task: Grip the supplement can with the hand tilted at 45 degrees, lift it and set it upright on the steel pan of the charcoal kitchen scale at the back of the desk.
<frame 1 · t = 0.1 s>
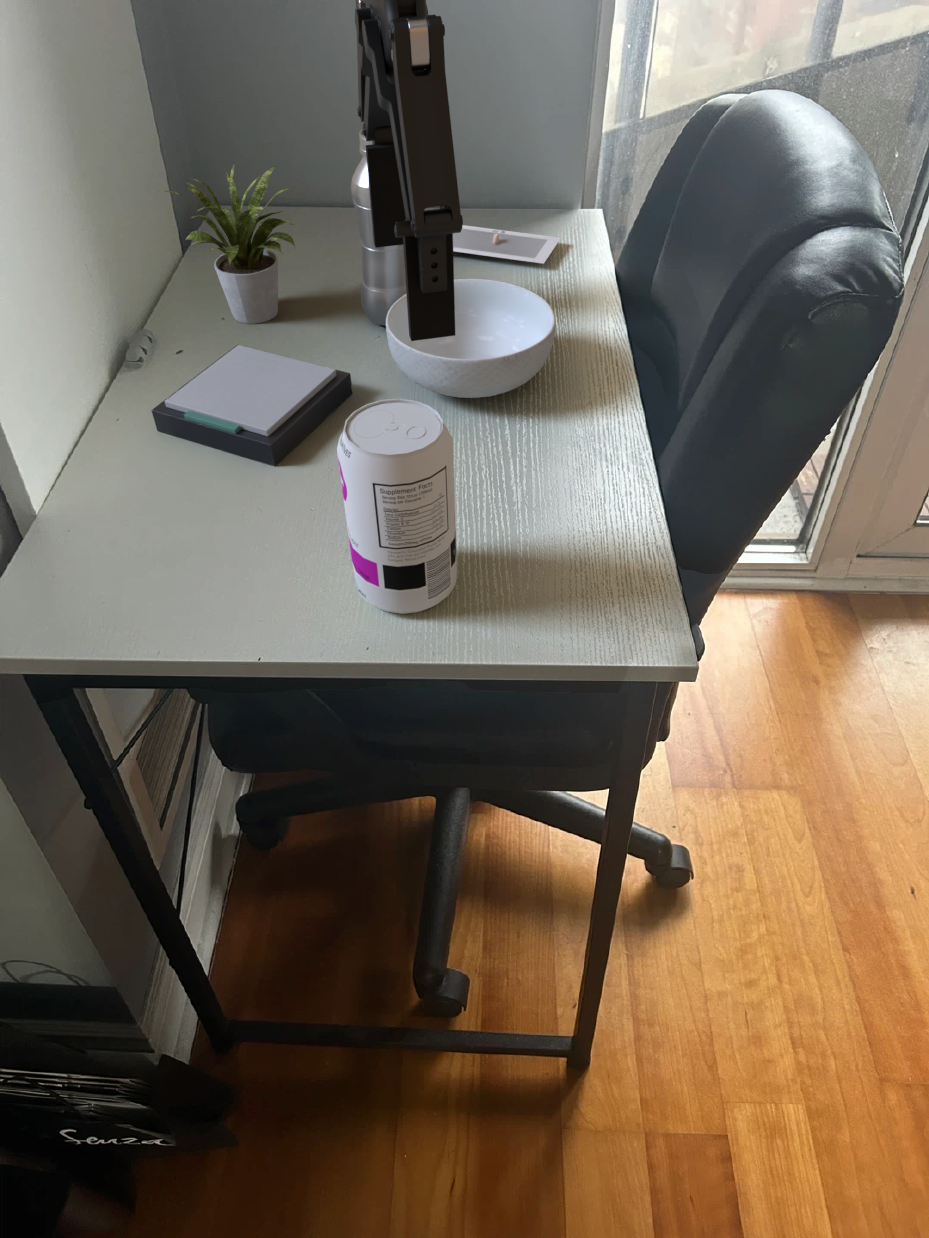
hand: (411, 286, 62), 24 cm above the table, tool pointing down, fingers open, 13 cm apart
scale: (257, 412, 95), on the table
silver metal bottle: (391, 320, 108), on the table
house plant: (246, 318, 109), on the table
cereal bowl: (471, 380, 99), on the table
supplement can: (406, 585, 76), on the table
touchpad: (495, 253, 121), on the table
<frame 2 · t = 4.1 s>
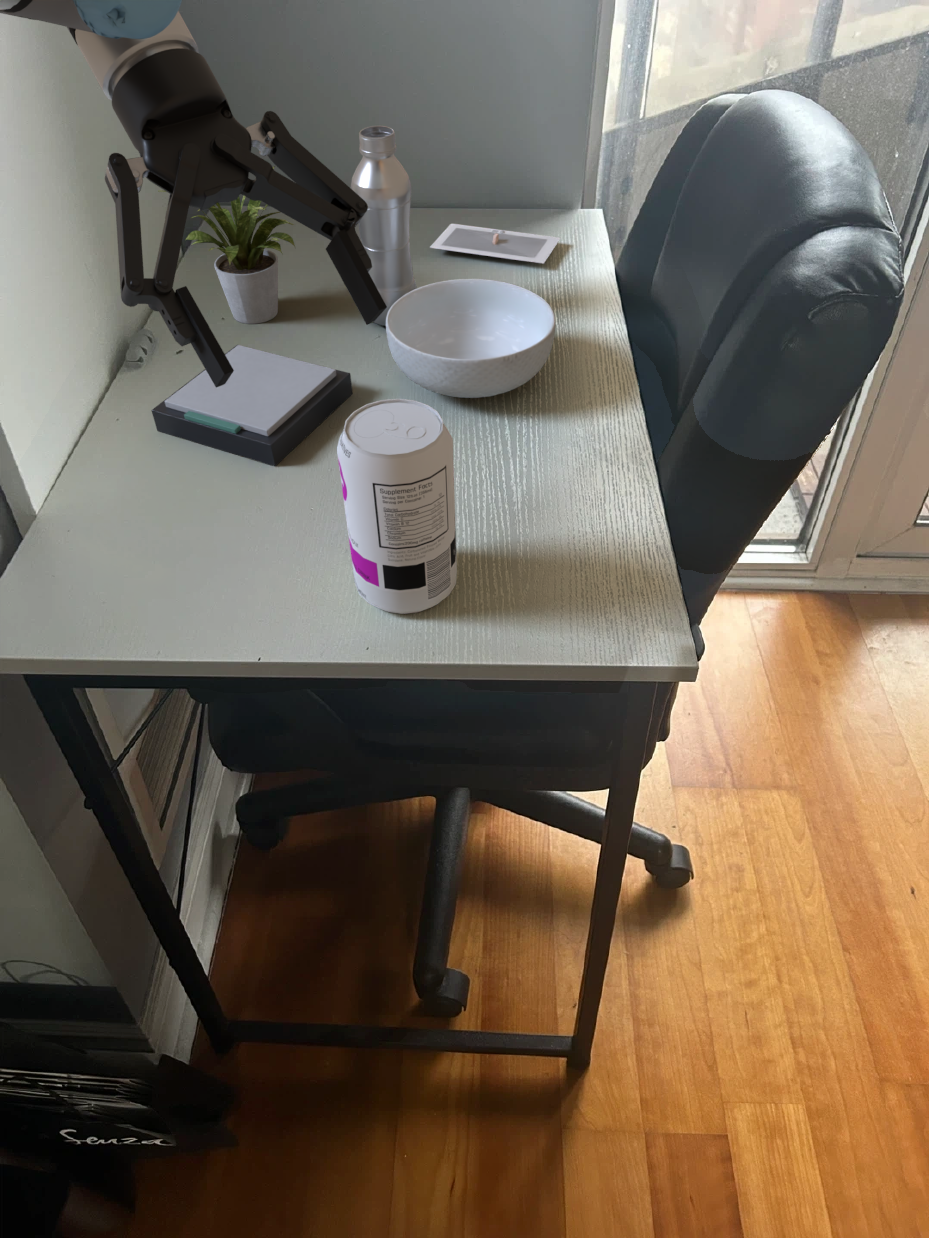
hand: (304, 347, 70), 17 cm above the table, tool tilted 45°, fingers open, 13 cm apart
nothing on the table moved.
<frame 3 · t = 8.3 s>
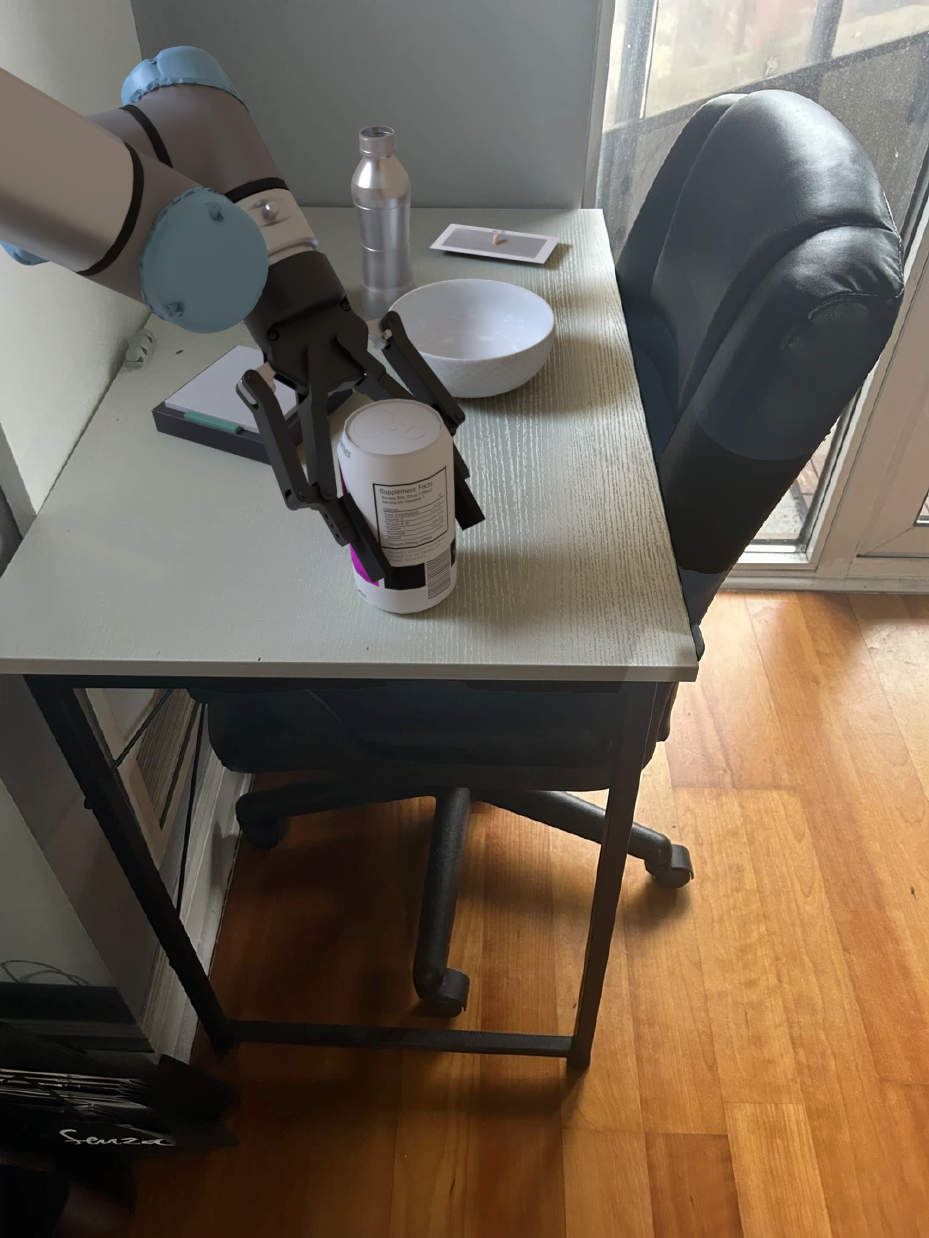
hand: (429, 550, 70), 6 cm above the table, tool tilted 45°, fingers closed on supplement can, 8 cm apart
supplement can: (406, 585, 76), on the table, touching gripper
everything else where it was.
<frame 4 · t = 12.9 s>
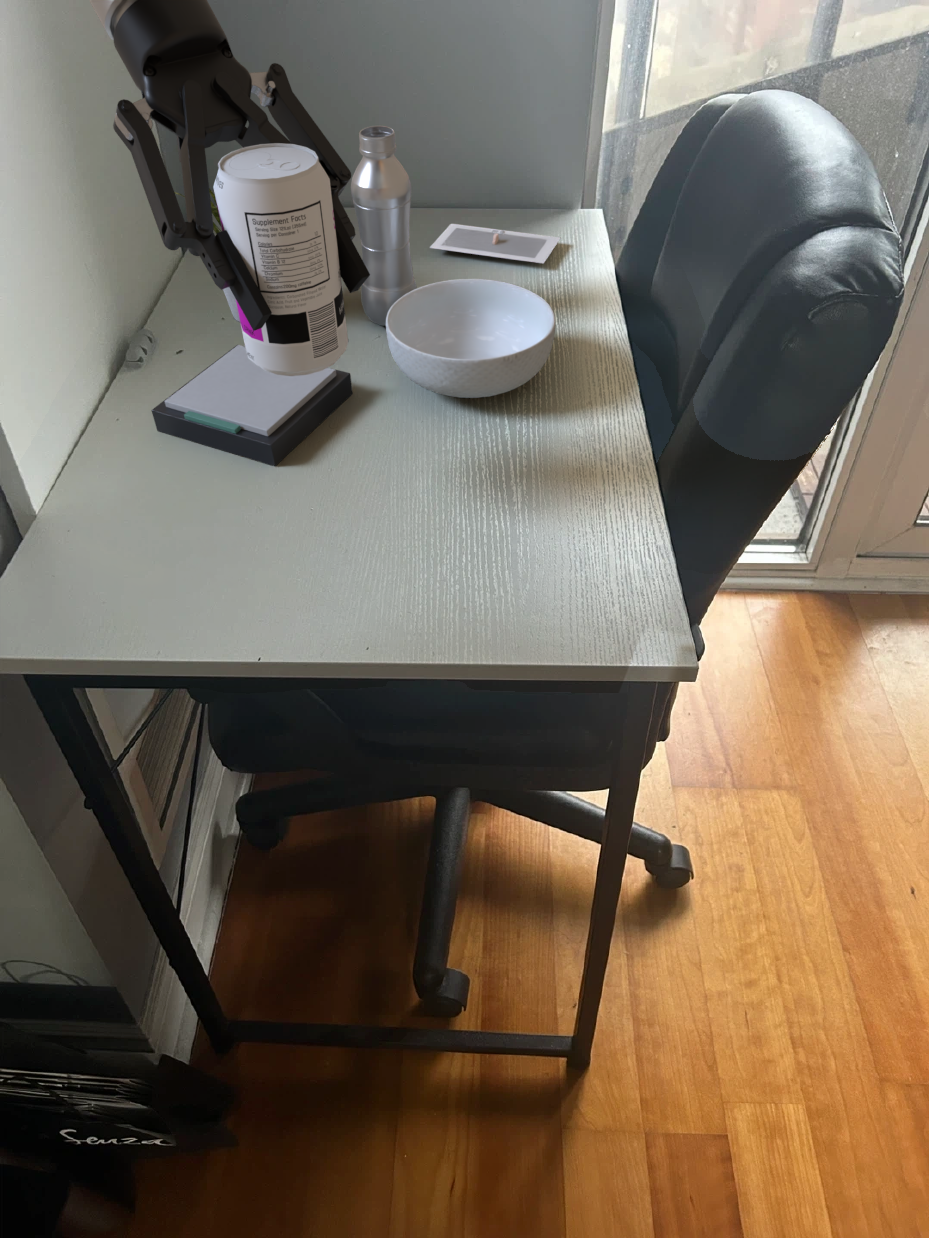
hand: (312, 302, 71), 19 cm above the table, tool tilted 45°, fingers closed on supplement can, 8 cm apart
supplement can: (298, 356, 77), point 13 cm above the table, touching gripper
everything else where it was.
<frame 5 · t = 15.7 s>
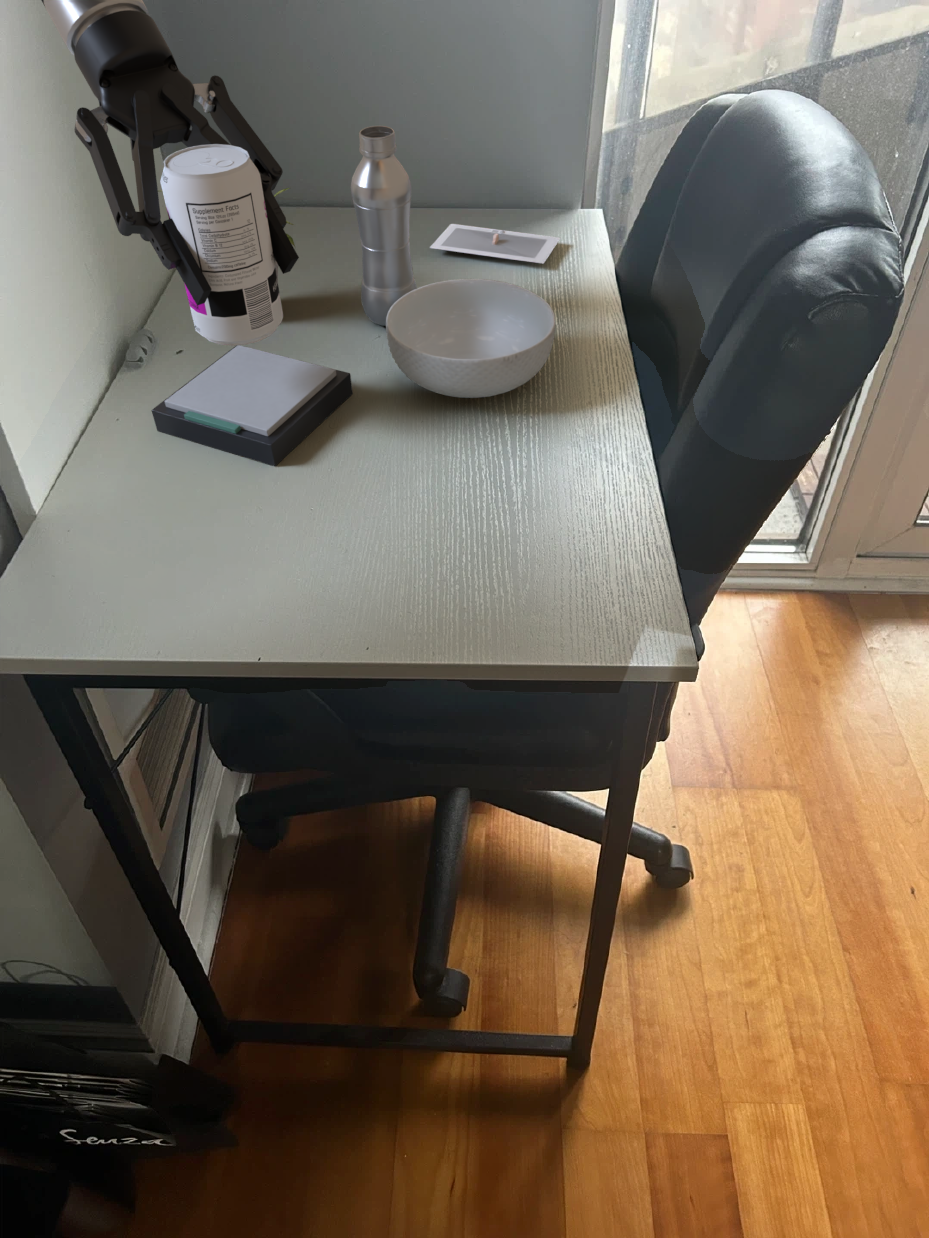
hand: (248, 281, 82), 15 cm above the table, tool tilted 45°, fingers closed on supplement can, 8 cm apart
supplement can: (240, 329, 88), point 9 cm above the table, touching gripper
everything else where it was.
when the fingers open (9 cm above the table, at t = 17.9 s): supplement can stays where it is, resting on scale.
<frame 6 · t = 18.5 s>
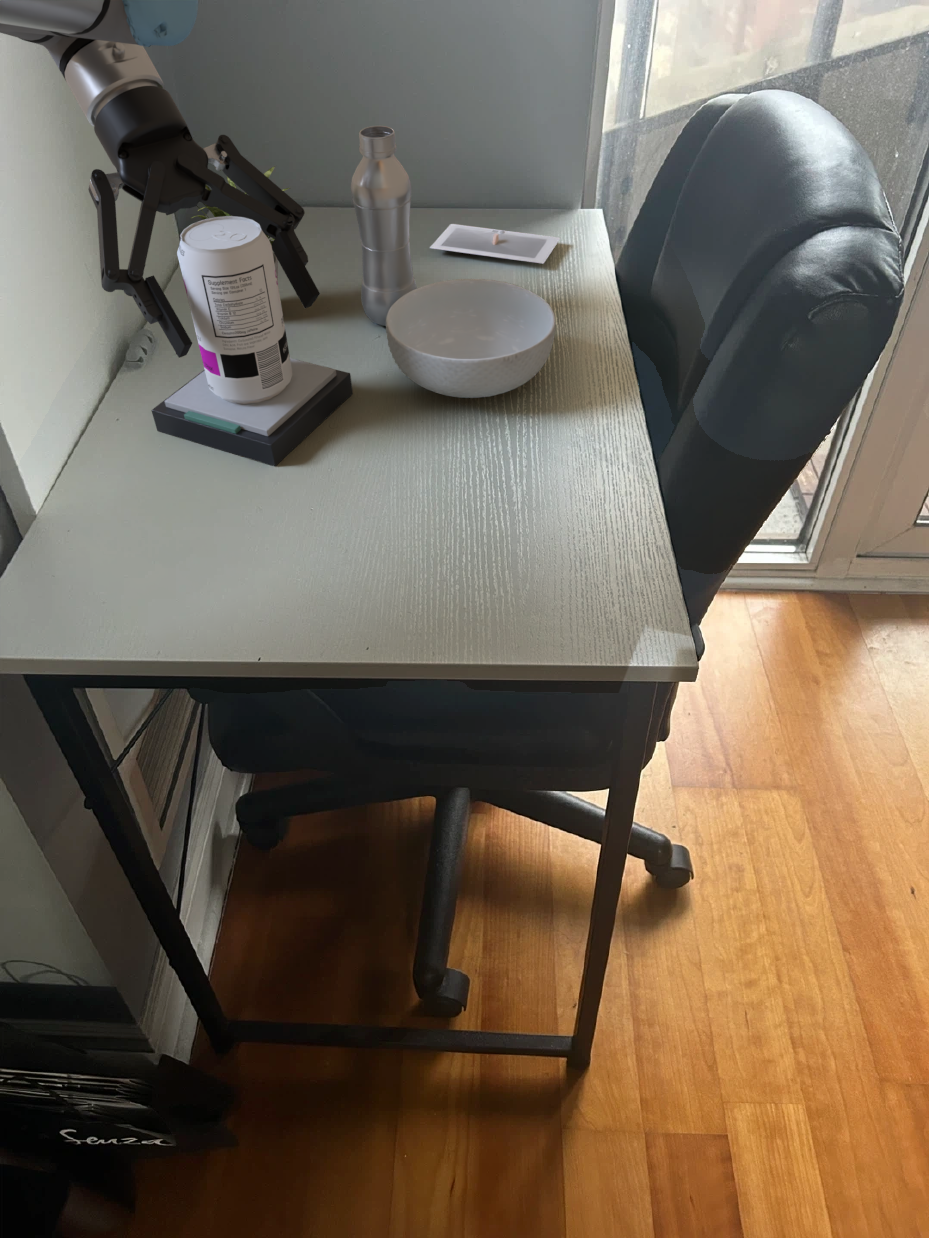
hand: (251, 325, 86), 10 cm above the table, tool tilted 45°, fingers open, 13 cm apart
supplement can: (251, 386, 93), point 3 cm above the table, touching scale
everything else where it was.
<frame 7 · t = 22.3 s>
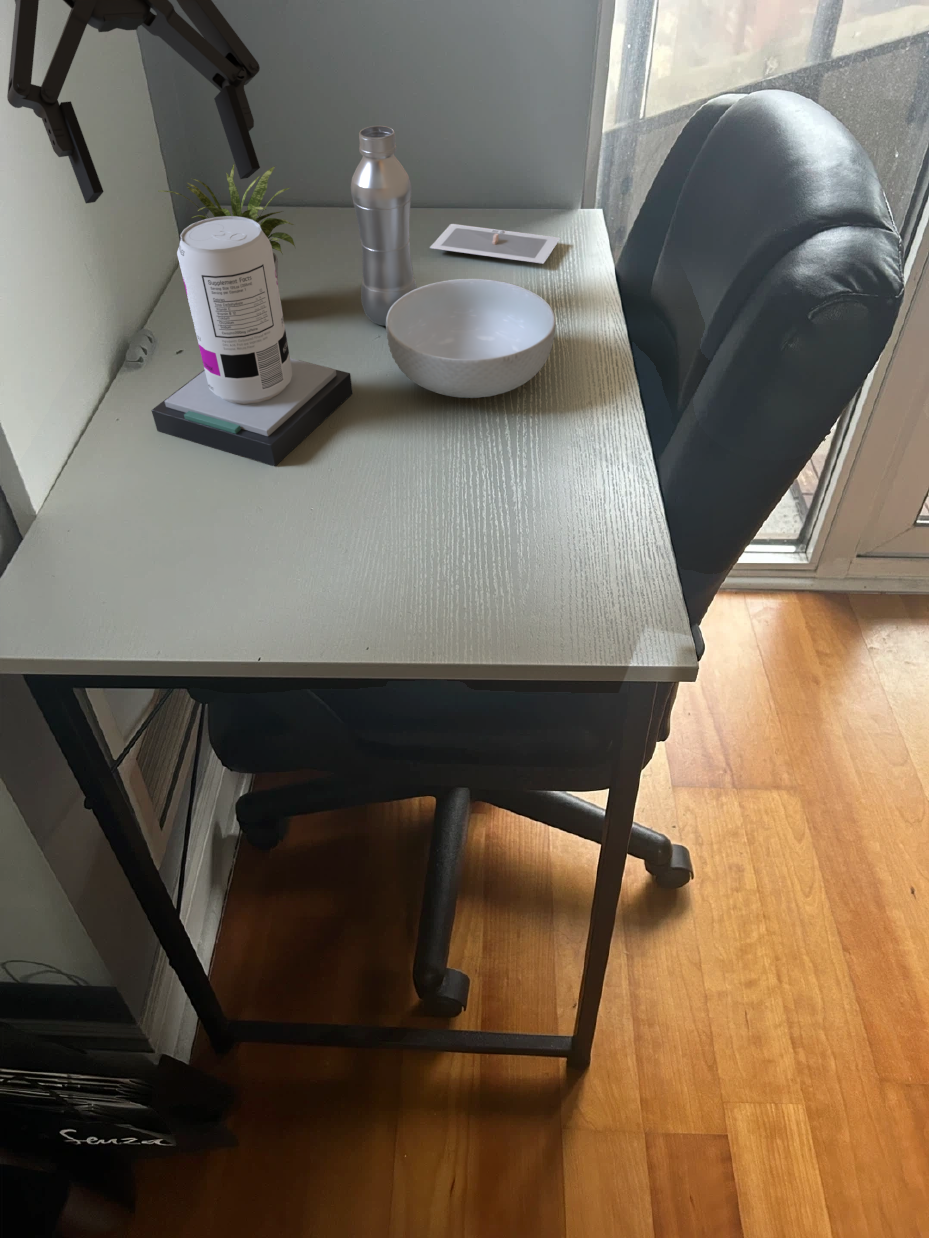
hand: (176, 185, 77), 23 cm above the table, tool tilted 30°, fingers open, 13 cm apart
nothing on the table moved.
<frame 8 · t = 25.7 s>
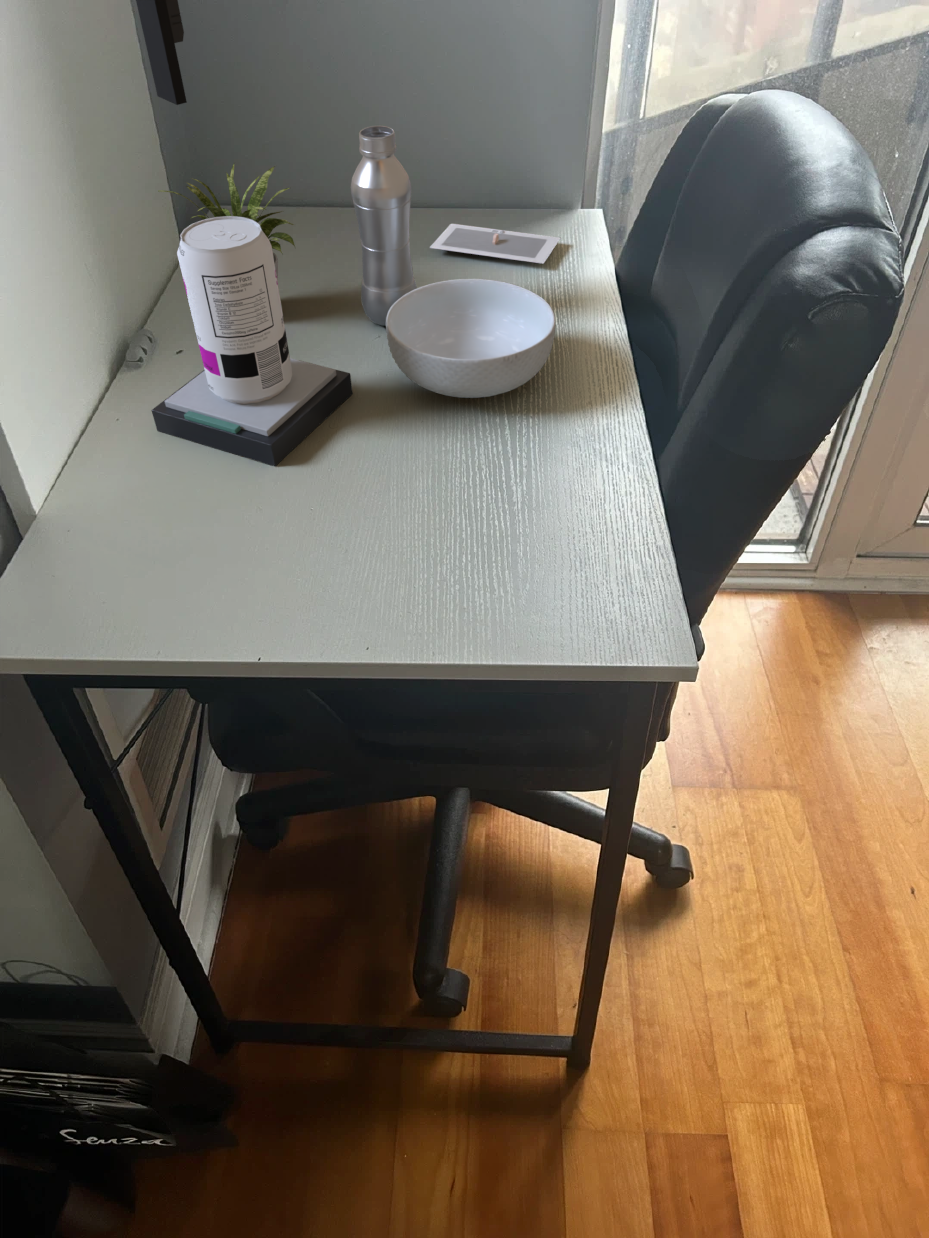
hand: (79, 123, 61), 32 cm above the table, tool pointing down, fingers open, 13 cm apart
nothing on the table moved.
at the end: supplement can inside the target area on the scale (0.0 cm from its centre), point 2.9 cm above the scale's base; supplement can tilted 0°; the gripper is holding nothing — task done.
